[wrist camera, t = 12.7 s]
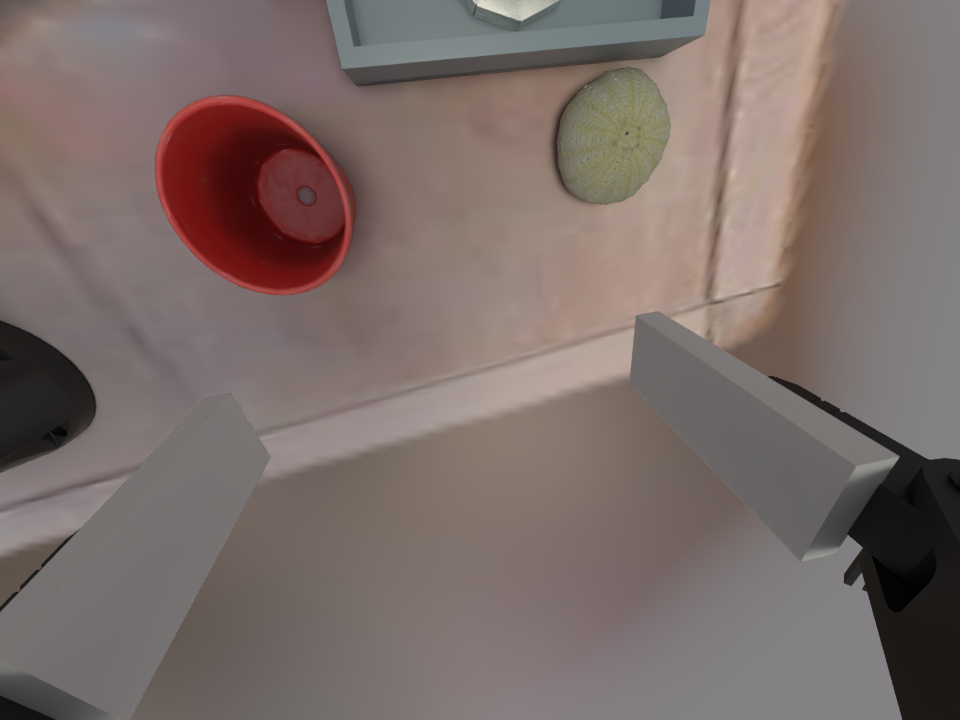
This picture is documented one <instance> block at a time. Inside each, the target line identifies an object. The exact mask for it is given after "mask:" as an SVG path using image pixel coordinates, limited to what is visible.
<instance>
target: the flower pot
mask: <svg viewBox="0 0 960 720" xmlns="http://www.w3.org/2000/svg"><path fill="white" fill-rule="evenodd" d="M155 179H156V186H157V191H158V196H159V199H160V202H161V205H162V207H163V210H164V212H165V214H166V216H167V218H168V220H169V222H170V224H171V225H172V227H173V229H174V230H175V232H176V233H177V235H178V236H179V237H180V239H181V240H182V241H183V243H184V244H185V245H186V246H187V247H188V249H189V250H190V251H191V252H192V253H193V254H194V255H195V256H196V257H197V258H198V259H199V260H200V261H201V262H202V263H204V264H205V265H206V266H207V267H208V268H210V269H211V270H212V271H214V272H215V273H217V274H218V275H220V276H221V277H223V278H225V279H227V280H228V281H230V282H232V283H234V284H236V285H238V286H241V287H243V288H246V289H249V290H252V291H255V292H260V293H265V294H271V295H293V294H298V293H303V292H306V291H309V290H312V289H314V288H316V287H318V286H320V285H322V284H323V283H325V282H326V281H328V280H329V279H330V278H331V277H332V276H333V275H334V274H335V273H336V272H337V271H338V269H339V268H340V267H341V265H342V264H343V262H344V260H345V258H346V255H347V253H348V251H349V247H350V244H351V240H352V235H353V229H354V221H355V200H354V194H353V190H352V187H351V185H350V182H349V180H348V178H347V177H346V175H345V173H344V172H343V170H342V169H341V168H340V166H339V165H338V164H337V163H336V161H335V160H334V159H333V158H332V156H331V155H330V154H329V153H328V152H327V150H326V149H325V148H324V147H323V146H322V145H321V144H320V143H319V142H318V141H317V140H316V139H315V138H314V137H313V136H312V135H311V134H310V133H309V132H308V131H307V130H306V129H305V128H303V127H302V126H301V125H300V124H298V123H297V122H296V121H294V120H293V119H292V118H290V117H289V116H287V115H285V114H284V113H282V112H280V111H279V110H277V109H275V108H273V107H271V106H269V105H267V104H264V103H262V102H259V101H257V100H254V99H250V98H246V97H242V96H234V95H219V96H211V97H206V98H203V99H200V100H197V101H195V102H193V103H191V104H189V105H188V106H186V107H184V108H183V109H182V110H180V111H179V112H178V113H177V114H176V115H174V117H173V118H172V119H171V120H170V121H169V123H168V124H167V126H166V128H165V129H164V131H163V133H162V135H161V138H160V140H159V143H158V147H157V152H156V158H155Z"/></svg>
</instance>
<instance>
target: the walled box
mask: <svg viewBox="0 0 960 720" xmlns="http://www.w3.org/2000/svg"><path fill="white" fill-rule="evenodd" d="M326 2H327V6H328V10H329V15H330V19H331V23H332V28H333V32H334V36H335V41H336V45H337V49H338V54H339V58H340V62H341V67H342V70H343V71H344V72H345V73H346V74H347V75H348V76H349V77H350V79H351V80H352V81H353V82H354V83H355V84H356V85H357V86H365V85H375V84H386V83H396V82H406V81H417V80H427V79H437V78H448V77H458V76H468V75H479V74H489V73H500V72H510V71H520V70H531V69H541V68H551V67H562V66H572V65H582V64H593V63H603V62H614V61H624V60H634V59H645V58H655V57H662V56H664V55H666V54H668V53H670V52H672V51H674V50H676V49H678V48H680V47H682V46H684V45H686V44H688V43H690V42H692V41H694V40H696V39H698V38H700V37H702V36H704V35H705V29H706V23H707V17H708V11H709V6H710V0H562V1H561V2H560V4H559V5H558V6H557V7H556V9H555V10H554V11H553V12H551V13H549V14H547V15H545V16H543V17H541V18H540V19H538V20H536V21H534V22H532V23H530V24H529V25H527V26H525V27H523V28H521V29H519V30H517V31H516V32H515V31H514V32H513V31H510V30H507V29H504V28H502V27H499V26H496V25H493V24H490V23H487V22H484V21H481V20H479V19H476V18H474V16H473V17H472V15H471V14H470V12H469V10H468V9H467V7H466V6H465V4H464V3H463V1H462V0H326Z"/></svg>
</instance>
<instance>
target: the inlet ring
mask: <svg viewBox="0 0 960 720" xmlns="http://www.w3.org/2000/svg"><path fill="white" fill-rule="evenodd" d="M462 1H463V3H464V4H465V6H466V7H467V9H468V10H469V12H470V14H471V15H472V17H473V16H474V18H476V19H479V20H481V21H484V22H487V23H490V24H493V25H496V26H499V27H502V28H504V29H507V30H510V31H513V32H514V31H515V32H516V31H517V30H519V29H521V28H523V27H525V26H527V25H529V24H530V23H532V22H534V21H536V20H538V19H540V18H541V17H543V16H545V15H547V14H549V13H551V12H553V11H554V10H555V9H556V7H557V6H558V5H559V4H560V2H561V1H562V0H462Z"/></svg>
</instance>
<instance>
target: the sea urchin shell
mask: <svg viewBox="0 0 960 720" xmlns="http://www.w3.org/2000/svg"><path fill="white" fill-rule="evenodd" d="M565 108H566V109H565V111H564V113H563V115H562V117H561V119H560V127H559V132H558V137H557V142H556V143H557V151H558V165H559V166H558V168H559V169H560V172H561V175H562V179H563V182H564V185H565V186H566V188H567V189H568V190H569V192H570V193H571V194H573V195H574V196H576V197H578V198H580V199H582V200H583V201H584V202H588V203H597V204H604V205H606V204H609V203H614V202H621V201H624V200H626V199H627V198H629V197H631V196H633V195H634V194H635V193H636V192H637V191H638V190H639V189H640V187H641V186H642V185H643V184H644V183H645V182H646V181H648V180H649V177H650V175H651V174H652V172H653V171H654V169H655V167H656V166H657V165H658V164H659V161H660V160H661V159H662V154H663V152H664V149H665V146H666V144H667V142H668V139H669V138H670V135H669V134H670V127H671V124H670V119H669V115H668V111H667V104H665V102H664V99H663V98H662V96H661V94H660V92H659V89H658V87H657V84H656V83H654V82H653V81H652V80H651V79H650V78H649V77H648V75H647V74H645V73H644V72H643V70H641V69H639V70H638V69H636V68H631V67H626V68H621V69H618V70H614V71H610V72H605V73H604V74H603V75H602V76H600V77H598V78H597V79H596V80H594V81H593V82H591V83H589V84H587V85H586V86H585V87H583V88H582V89H581V90H580V91H579V92H578V93H577V95H576V96H575V97H574V98H573V99H572V100H571V102H570V103H569V104H568V105H567V107H565Z"/></svg>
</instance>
